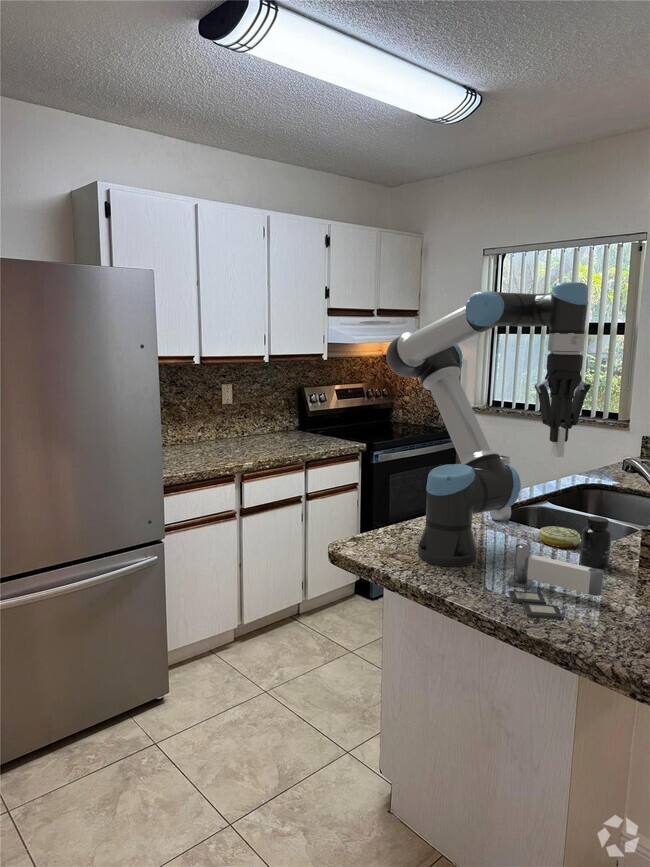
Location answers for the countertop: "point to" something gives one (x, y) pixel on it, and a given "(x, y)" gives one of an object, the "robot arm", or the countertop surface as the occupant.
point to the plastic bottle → (505, 512)
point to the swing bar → (566, 575)
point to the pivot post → (521, 568)
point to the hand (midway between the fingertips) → (557, 455)
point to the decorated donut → (559, 536)
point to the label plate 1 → (527, 597)
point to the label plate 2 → (542, 611)
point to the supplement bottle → (596, 543)
